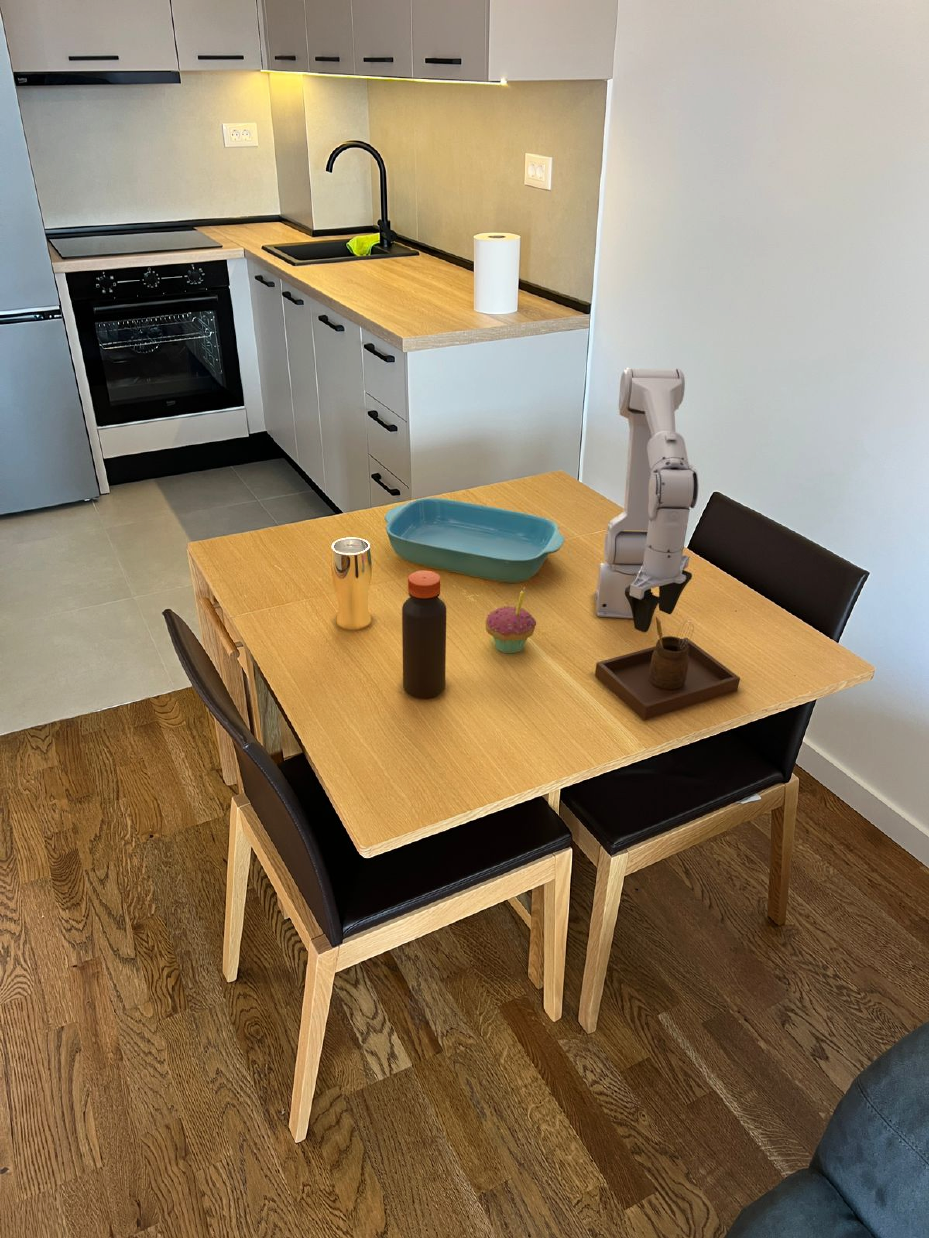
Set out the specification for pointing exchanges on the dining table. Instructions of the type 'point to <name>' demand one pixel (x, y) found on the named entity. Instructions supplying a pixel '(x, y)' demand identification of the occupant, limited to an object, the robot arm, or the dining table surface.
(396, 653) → the dining table surface
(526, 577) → the casserole dish
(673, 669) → the utensil holder
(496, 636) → the cupcake
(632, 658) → the tray
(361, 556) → the beer glass
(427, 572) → the bottle
